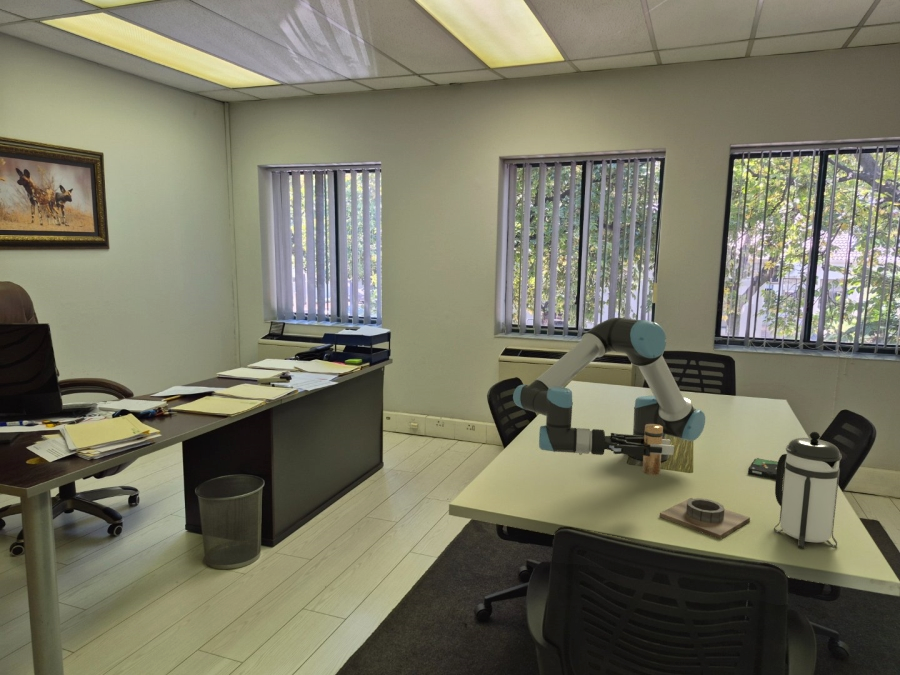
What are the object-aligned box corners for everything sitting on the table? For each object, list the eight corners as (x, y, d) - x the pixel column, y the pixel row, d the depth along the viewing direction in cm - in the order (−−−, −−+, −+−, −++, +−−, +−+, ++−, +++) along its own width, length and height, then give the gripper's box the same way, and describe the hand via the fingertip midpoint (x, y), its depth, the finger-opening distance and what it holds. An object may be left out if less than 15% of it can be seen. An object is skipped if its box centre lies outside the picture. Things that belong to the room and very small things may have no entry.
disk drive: (780, 482, 206) (785, 470, 218) (781, 474, 206) (786, 462, 218) (747, 475, 212) (754, 463, 224) (748, 468, 212) (755, 456, 224)
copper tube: (648, 467, 182) (651, 422, 181) (663, 472, 178) (666, 426, 177) (638, 471, 179) (641, 425, 177) (654, 476, 175) (657, 429, 173)
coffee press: (842, 537, 164) (854, 431, 160) (830, 558, 153) (843, 444, 149) (772, 518, 176) (782, 418, 172) (757, 536, 164) (766, 429, 160)
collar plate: (690, 501, 187) (691, 488, 186) (749, 521, 173) (750, 507, 173) (659, 516, 176) (660, 503, 175) (720, 539, 162) (721, 524, 161)
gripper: (588, 444, 190) (665, 450, 186) (591, 463, 173) (676, 469, 168) (590, 421, 189) (667, 426, 185) (592, 438, 172) (678, 444, 167)
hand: (671, 447), depth 177 cm, fingers closed on copper tube, 5 cm apart
